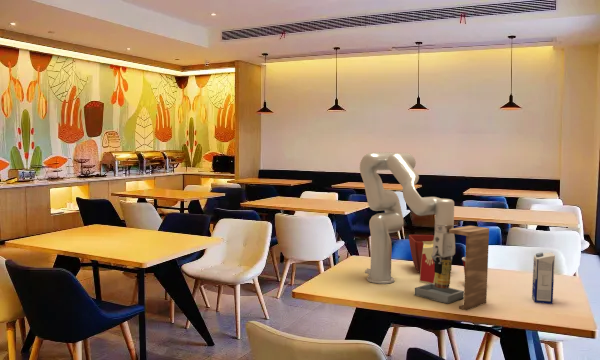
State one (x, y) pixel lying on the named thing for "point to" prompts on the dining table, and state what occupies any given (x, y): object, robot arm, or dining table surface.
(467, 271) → the wooden c-shaped stand
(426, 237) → the plant pot
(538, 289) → the milk carton
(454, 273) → the dining table surface
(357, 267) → the dining table surface
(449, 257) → the sauce bottle
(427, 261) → the milk carton
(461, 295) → the tray
